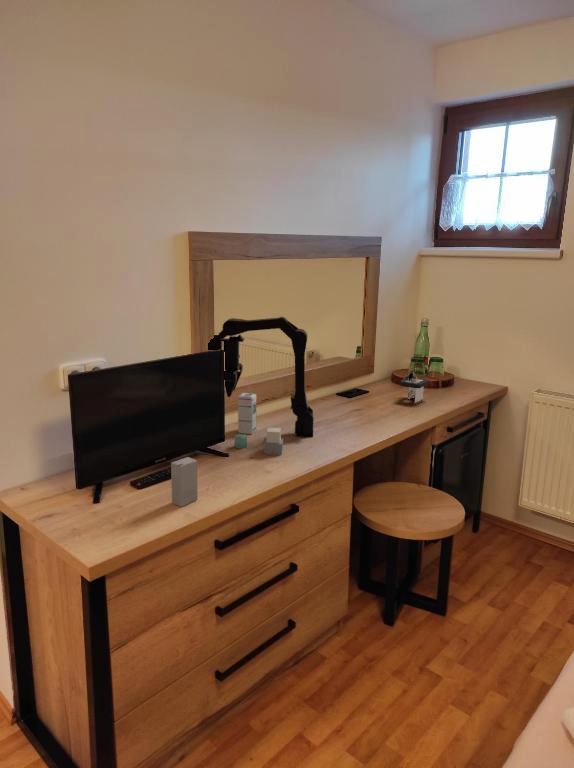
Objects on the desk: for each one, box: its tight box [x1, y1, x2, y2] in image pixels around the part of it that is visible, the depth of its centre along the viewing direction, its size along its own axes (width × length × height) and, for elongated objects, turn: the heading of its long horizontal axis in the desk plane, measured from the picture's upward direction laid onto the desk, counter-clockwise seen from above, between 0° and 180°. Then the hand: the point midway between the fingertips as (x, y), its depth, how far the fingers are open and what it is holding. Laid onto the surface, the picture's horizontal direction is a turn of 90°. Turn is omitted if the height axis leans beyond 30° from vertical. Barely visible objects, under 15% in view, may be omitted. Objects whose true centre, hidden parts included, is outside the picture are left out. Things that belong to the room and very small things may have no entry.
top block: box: [266, 427, 282, 443], centre depth 200 cm, size 4×4×4 cm
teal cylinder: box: [234, 433, 248, 450], centre depth 204 cm, size 4×4×4 cm
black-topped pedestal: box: [400, 371, 430, 404], centre depth 270 cm, size 28×26×13 cm
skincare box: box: [170, 456, 198, 507], centre depth 159 cm, size 6×4×12 cm
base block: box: [263, 437, 284, 456], centre depth 201 cm, size 6×6×4 cm
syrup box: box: [237, 392, 257, 435], centre depth 219 cm, size 6×6×14 cm
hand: (231, 393), depth 218 cm, fingers open, 9 cm apart
